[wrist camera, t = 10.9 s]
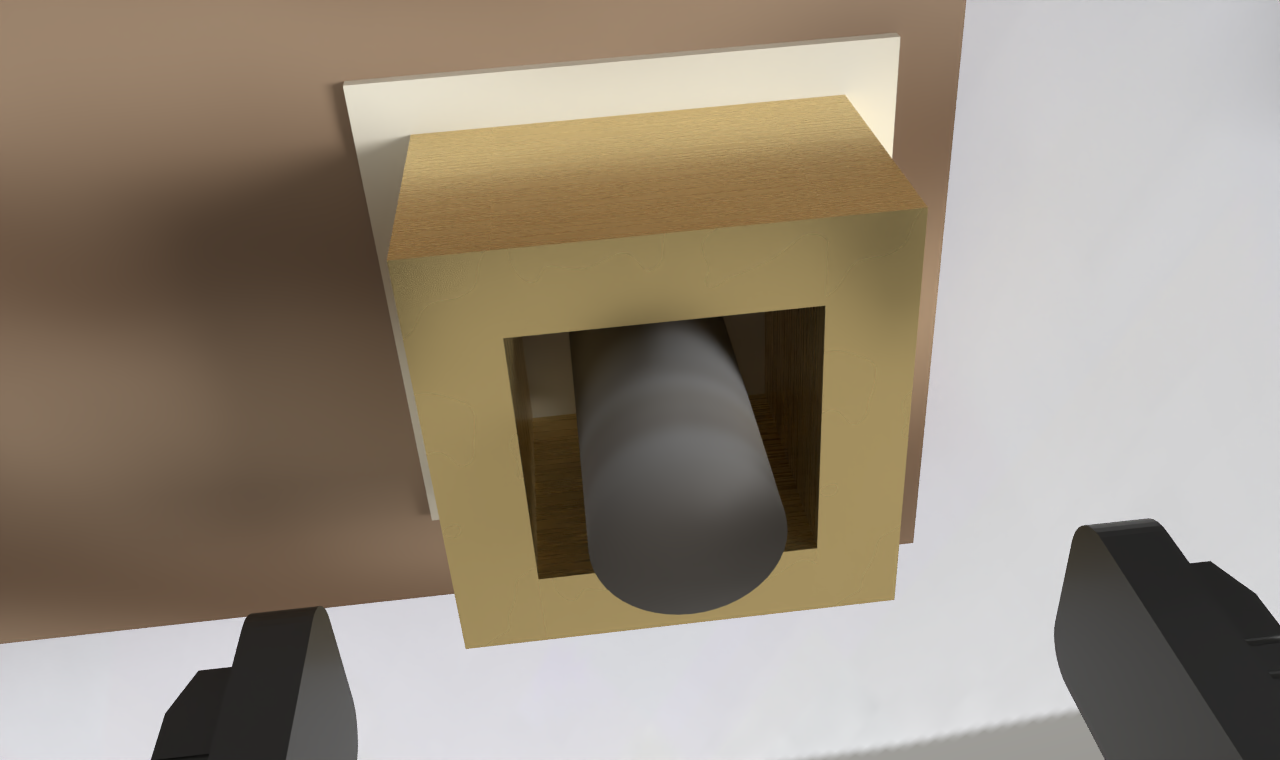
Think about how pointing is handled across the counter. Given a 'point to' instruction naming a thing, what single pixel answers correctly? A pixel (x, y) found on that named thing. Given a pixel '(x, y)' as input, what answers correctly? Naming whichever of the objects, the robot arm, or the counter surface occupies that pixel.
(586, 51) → the post board
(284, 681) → the robot arm
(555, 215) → the collar
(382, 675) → the counter surface
